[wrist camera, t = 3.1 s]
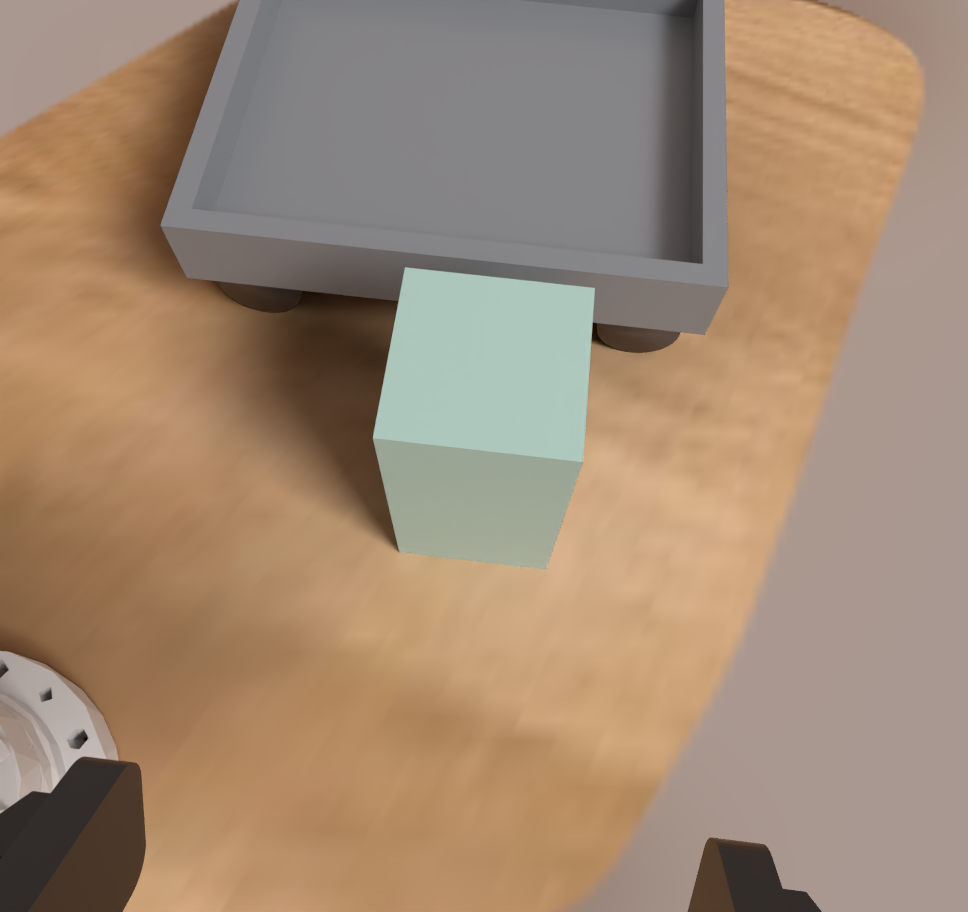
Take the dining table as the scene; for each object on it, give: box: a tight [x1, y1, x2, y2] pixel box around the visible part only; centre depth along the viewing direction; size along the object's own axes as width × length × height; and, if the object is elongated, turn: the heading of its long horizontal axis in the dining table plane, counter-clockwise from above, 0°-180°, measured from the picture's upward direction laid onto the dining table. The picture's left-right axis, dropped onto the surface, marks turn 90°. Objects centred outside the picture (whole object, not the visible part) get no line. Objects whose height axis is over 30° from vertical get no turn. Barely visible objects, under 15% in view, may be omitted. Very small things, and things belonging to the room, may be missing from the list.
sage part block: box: [373, 267, 595, 570], centre depth 24 cm, size 5×5×9 cm
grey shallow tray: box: [160, 0, 728, 353], centre depth 31 cm, size 18×15×6 cm
